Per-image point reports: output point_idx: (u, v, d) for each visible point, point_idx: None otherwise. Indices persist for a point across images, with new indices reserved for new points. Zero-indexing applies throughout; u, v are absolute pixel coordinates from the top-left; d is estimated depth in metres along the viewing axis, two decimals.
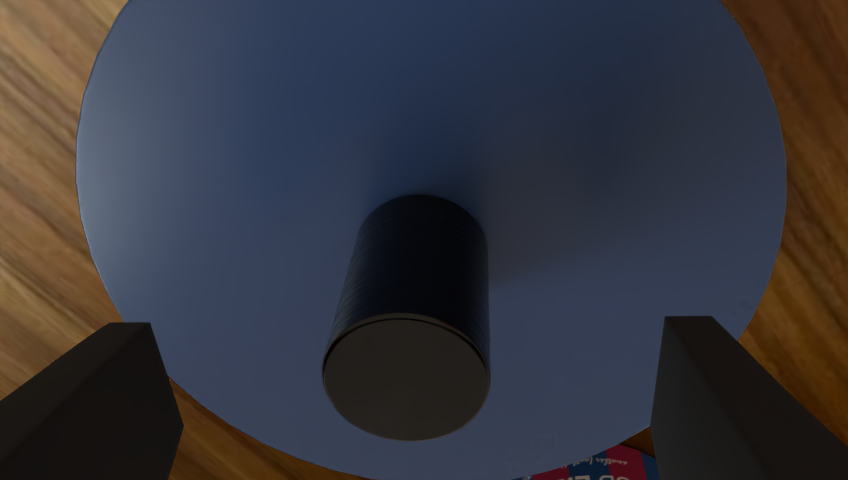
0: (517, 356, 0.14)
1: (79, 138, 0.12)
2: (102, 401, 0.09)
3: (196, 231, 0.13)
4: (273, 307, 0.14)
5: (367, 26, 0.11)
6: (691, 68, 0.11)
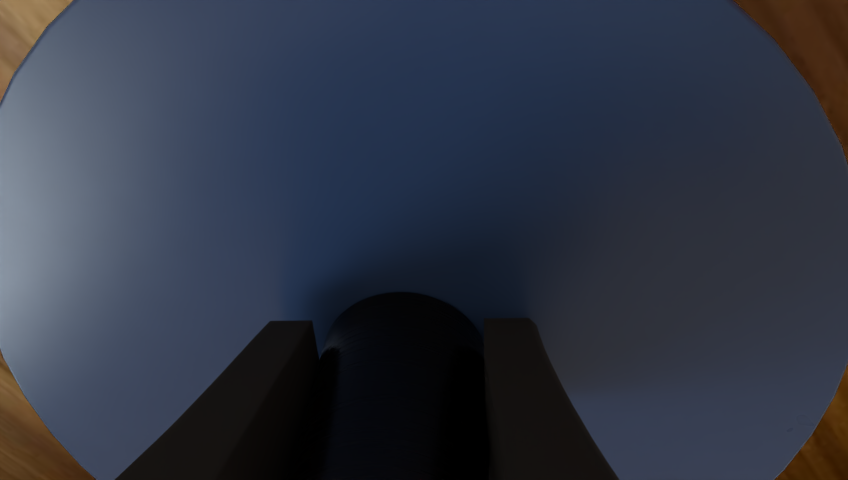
0: None
1: None
2: (286, 401, 0.09)
3: (128, 330, 0.11)
4: None
5: (331, 91, 0.09)
6: (749, 145, 0.09)
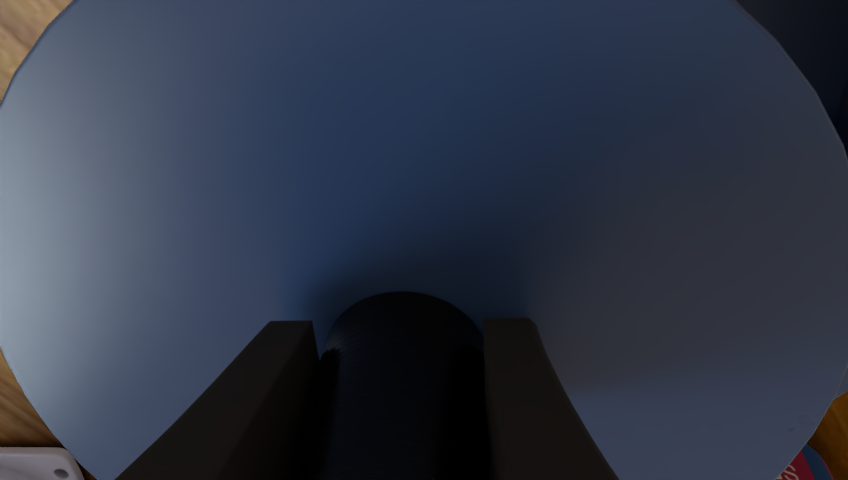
0: None
1: None
2: (285, 401, 0.09)
3: (129, 330, 0.11)
4: None
5: (332, 90, 0.09)
6: (750, 144, 0.09)
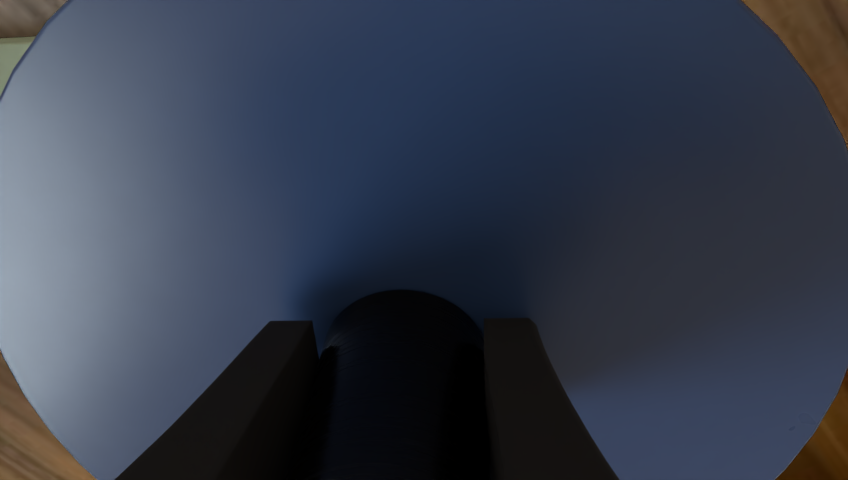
0: None
1: None
2: (285, 401, 0.09)
3: (128, 328, 0.11)
4: None
5: (332, 87, 0.09)
6: (752, 141, 0.09)
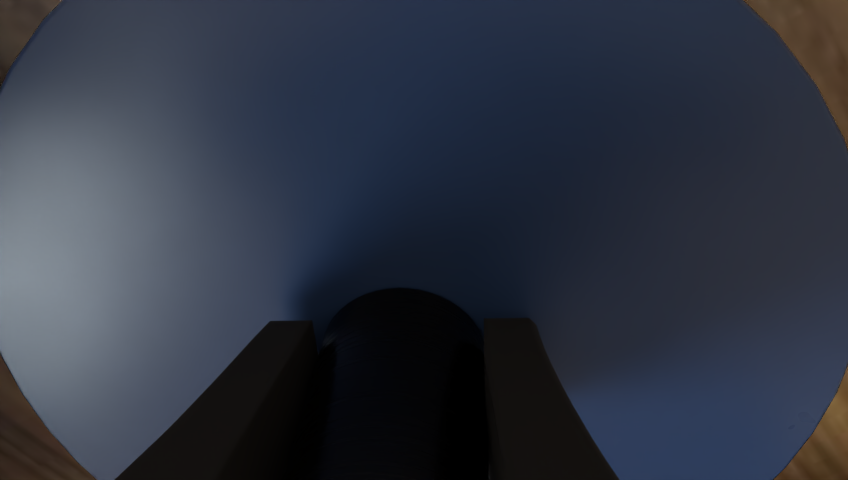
0: None
1: None
2: (285, 401, 0.09)
3: (126, 327, 0.11)
4: None
5: (330, 85, 0.09)
6: (751, 139, 0.09)
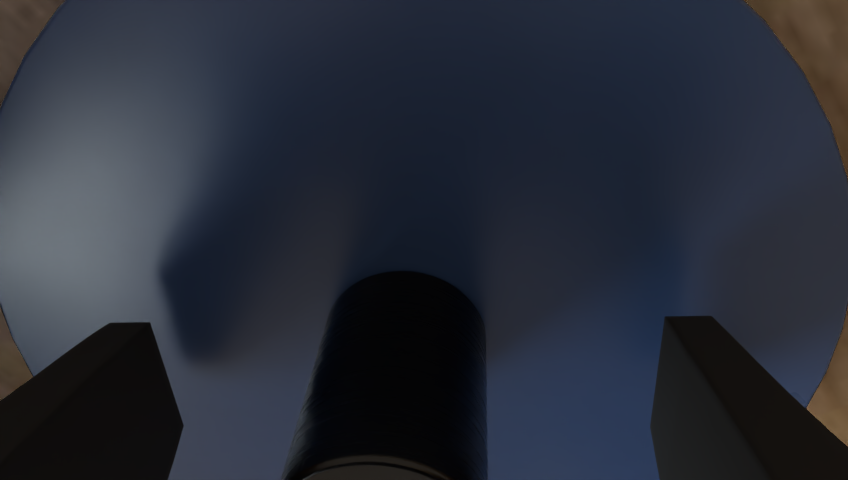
0: (521, 451, 0.12)
1: None
2: (102, 401, 0.09)
3: (134, 310, 0.11)
4: (230, 395, 0.12)
5: (334, 72, 0.09)
6: (740, 124, 0.09)
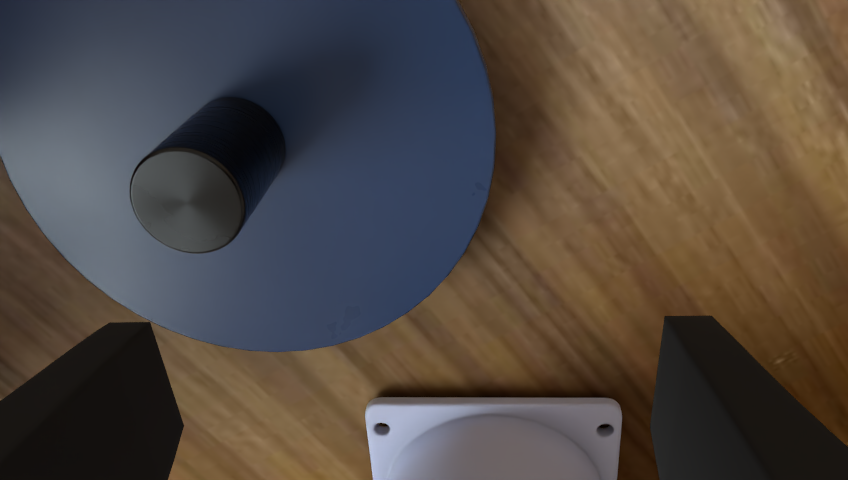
0: (320, 232, 0.19)
1: None
2: (102, 401, 0.09)
3: (73, 129, 0.18)
4: None
5: None
6: None
